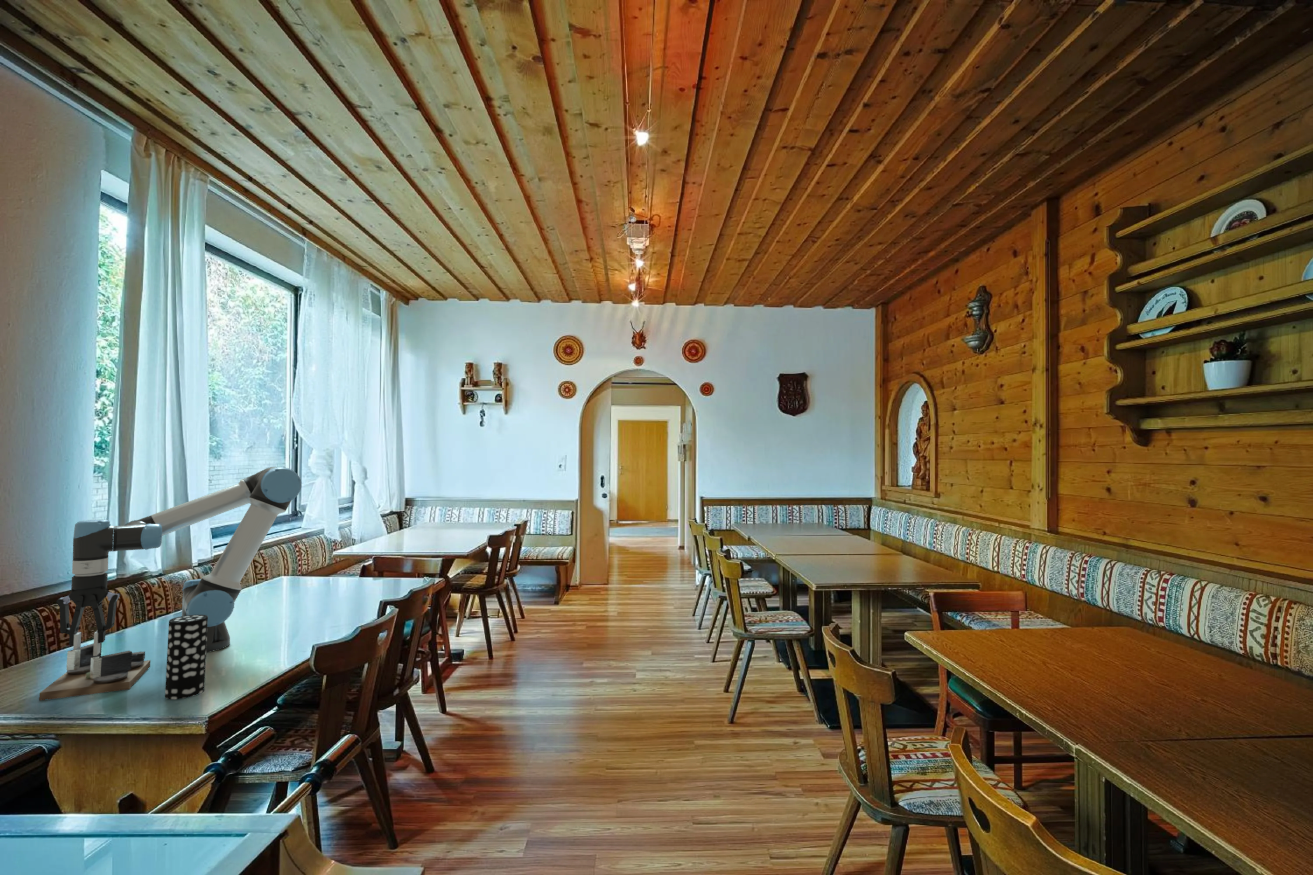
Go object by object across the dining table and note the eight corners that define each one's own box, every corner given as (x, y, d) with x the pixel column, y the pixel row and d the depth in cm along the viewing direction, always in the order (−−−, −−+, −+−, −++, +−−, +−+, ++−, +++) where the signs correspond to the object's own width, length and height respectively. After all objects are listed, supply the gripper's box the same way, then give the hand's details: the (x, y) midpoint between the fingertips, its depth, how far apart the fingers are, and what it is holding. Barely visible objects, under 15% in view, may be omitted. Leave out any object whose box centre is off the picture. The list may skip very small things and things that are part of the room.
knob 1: (85, 665, 174) (86, 642, 174) (109, 665, 174) (110, 642, 174) (57, 674, 166) (58, 651, 166) (82, 675, 166) (83, 651, 166)
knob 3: (147, 660, 178) (147, 648, 178) (140, 667, 172) (140, 655, 172) (116, 664, 175) (116, 651, 175) (107, 671, 169) (108, 658, 169)
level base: (150, 666, 180) (150, 655, 180) (129, 689, 162) (129, 677, 162) (70, 675, 171) (71, 664, 171) (39, 700, 154) (39, 687, 154)
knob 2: (124, 671, 168) (126, 648, 169) (134, 676, 165) (135, 653, 165) (86, 680, 162) (88, 656, 162) (95, 685, 158) (96, 661, 158)
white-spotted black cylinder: (179, 687, 163) (183, 614, 164) (211, 687, 164) (215, 614, 165) (156, 699, 155) (160, 622, 156) (190, 699, 156) (194, 622, 157)
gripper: (44, 578, 164) (41, 663, 163) (123, 573, 172) (120, 655, 171) (56, 573, 171) (53, 655, 170) (131, 569, 178) (128, 647, 178)
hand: (86, 655), depth 170 cm, fingers closed on knob 1, 4 cm apart
